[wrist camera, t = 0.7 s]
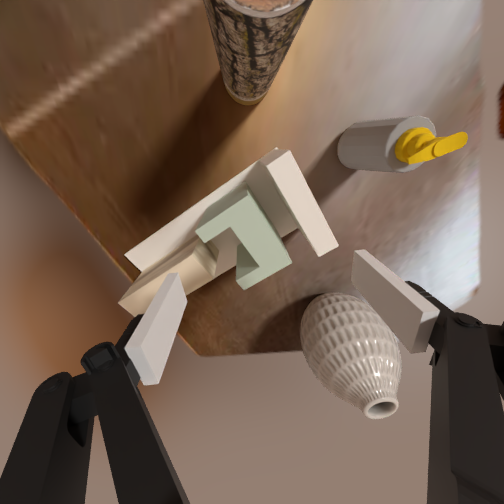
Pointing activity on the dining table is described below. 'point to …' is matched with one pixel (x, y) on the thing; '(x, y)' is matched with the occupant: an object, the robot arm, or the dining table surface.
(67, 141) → the dining table surface
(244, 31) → the bark log
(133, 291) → the beige wooden block
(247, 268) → the socket block
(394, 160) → the soap bottle
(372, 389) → the vase
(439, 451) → the robot arm
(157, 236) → the track
